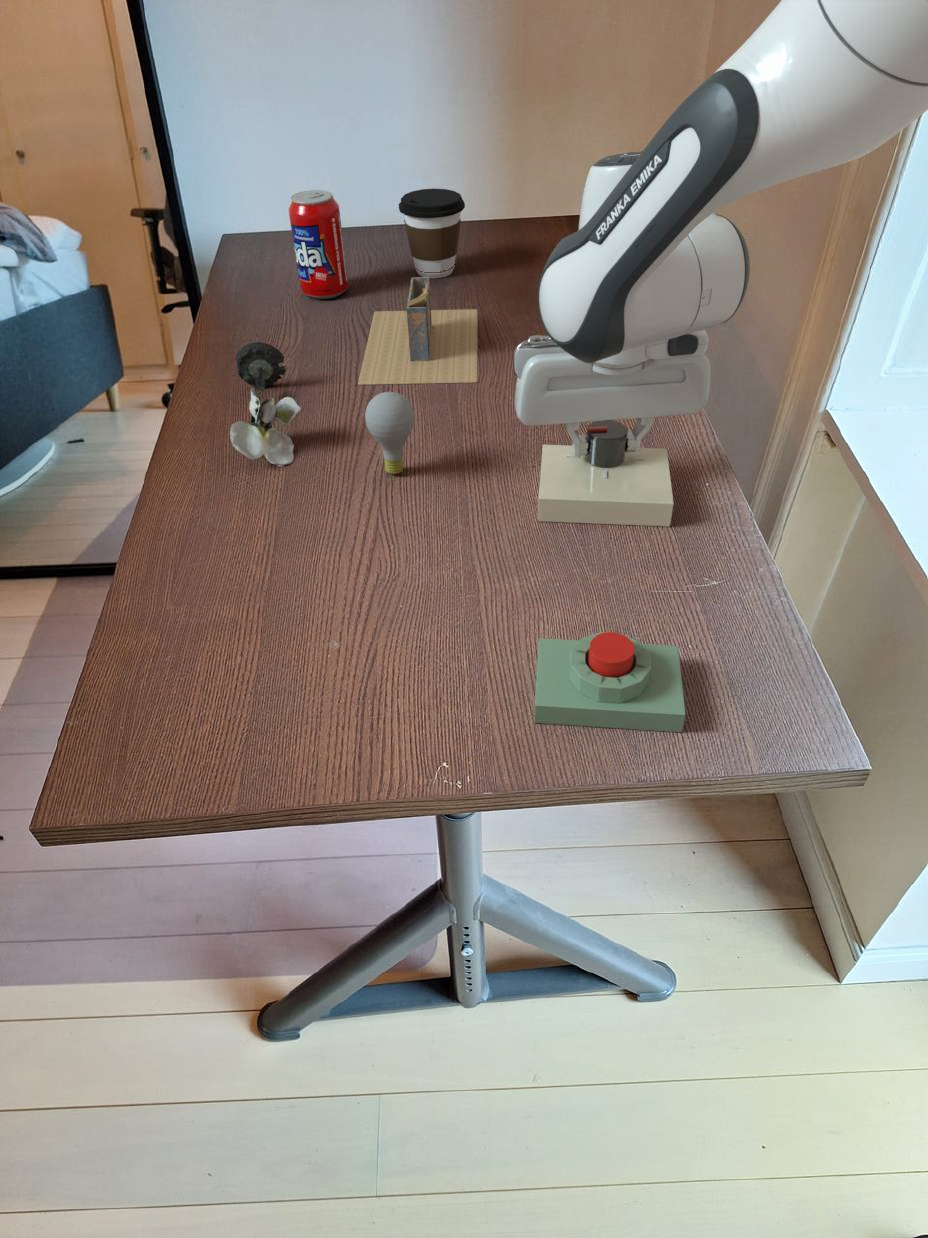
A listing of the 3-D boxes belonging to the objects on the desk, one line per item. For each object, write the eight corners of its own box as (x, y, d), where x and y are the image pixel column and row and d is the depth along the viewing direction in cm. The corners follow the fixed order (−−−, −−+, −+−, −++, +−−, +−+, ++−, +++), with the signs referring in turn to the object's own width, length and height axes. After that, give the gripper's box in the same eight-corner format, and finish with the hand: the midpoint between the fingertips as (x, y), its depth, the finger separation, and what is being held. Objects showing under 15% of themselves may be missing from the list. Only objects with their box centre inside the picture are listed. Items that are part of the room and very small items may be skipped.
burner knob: (620, 446, 96) (623, 416, 94) (628, 466, 93) (631, 436, 91) (582, 448, 96) (584, 417, 94) (588, 468, 93) (590, 438, 91)
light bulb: (423, 481, 98) (417, 401, 91) (377, 489, 97) (368, 409, 90) (412, 457, 102) (406, 379, 95) (367, 465, 101) (358, 387, 94)
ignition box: (674, 663, 75) (681, 630, 72) (681, 732, 69) (689, 699, 66) (538, 655, 76) (539, 622, 73) (534, 723, 70) (535, 690, 68)
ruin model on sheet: (477, 382, 116) (476, 311, 109) (357, 384, 116) (349, 314, 110) (477, 309, 134) (476, 245, 128) (374, 311, 135) (368, 247, 128)
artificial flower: (300, 389, 118) (309, 324, 111) (290, 494, 104) (299, 428, 96) (234, 377, 116) (239, 310, 109) (214, 483, 101) (218, 414, 94)
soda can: (358, 291, 141) (347, 194, 131) (321, 305, 137) (306, 206, 127) (329, 280, 145) (317, 184, 135) (292, 293, 141) (276, 196, 131)
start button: (631, 648, 71) (633, 633, 70) (633, 679, 69) (635, 664, 67) (588, 646, 72) (589, 630, 70) (588, 676, 69) (589, 661, 68)
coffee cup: (431, 288, 141) (427, 211, 133) (390, 271, 147) (384, 197, 139) (479, 271, 146) (478, 196, 138) (438, 255, 152) (435, 183, 144)
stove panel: (662, 462, 99) (666, 438, 97) (670, 527, 90) (674, 502, 88) (542, 458, 101) (543, 434, 99) (537, 521, 91) (538, 496, 89)
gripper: (517, 350, 82) (516, 473, 91) (725, 337, 83) (703, 459, 92) (509, 324, 87) (509, 443, 96) (706, 311, 88) (687, 430, 97)
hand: (605, 451), depth 94 cm, fingers closed on burner knob, 4 cm apart
